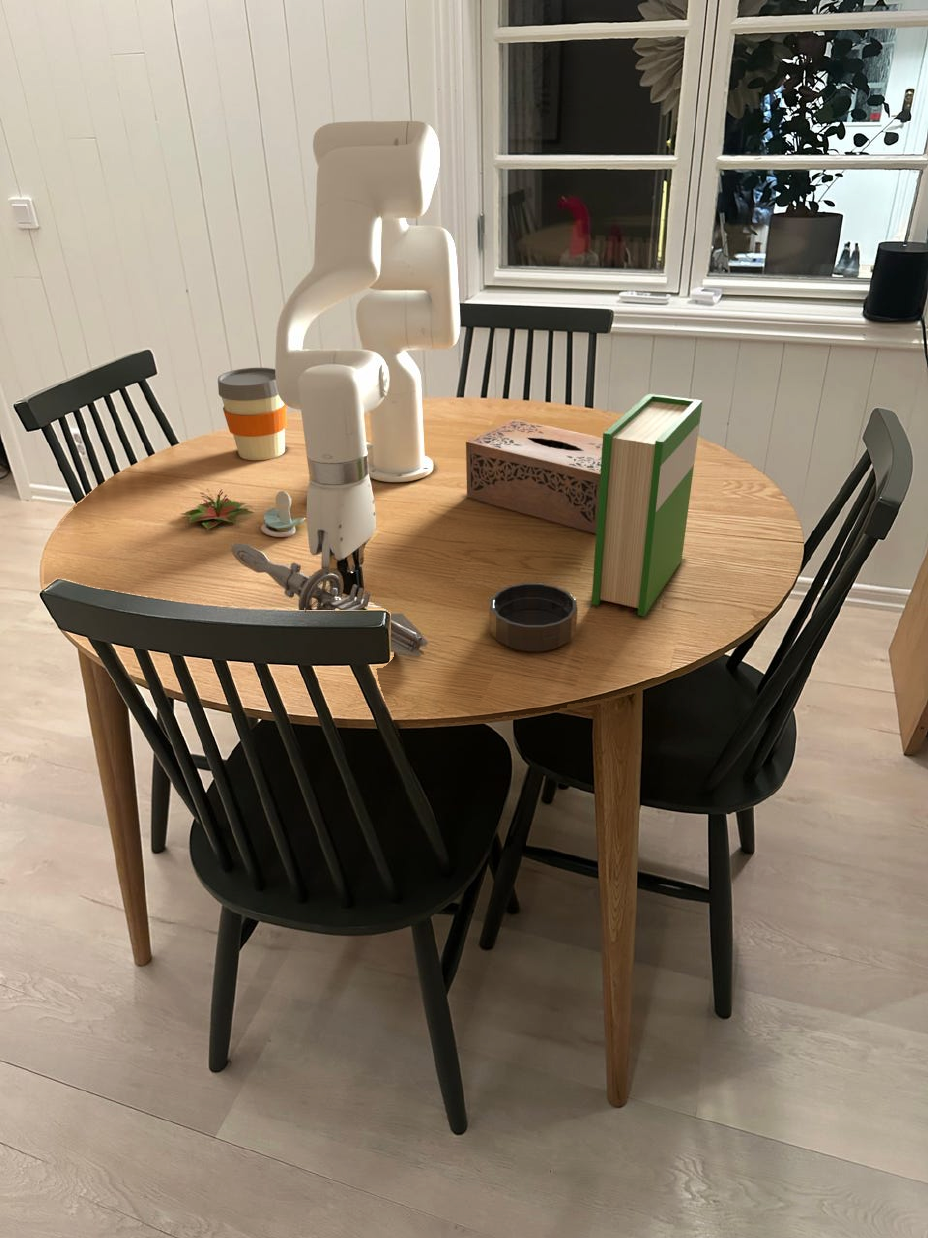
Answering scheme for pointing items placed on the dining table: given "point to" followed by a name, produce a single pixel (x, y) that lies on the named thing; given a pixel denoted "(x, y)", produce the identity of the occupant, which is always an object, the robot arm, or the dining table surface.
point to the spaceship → (328, 595)
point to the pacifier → (282, 523)
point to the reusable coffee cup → (254, 412)
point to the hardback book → (644, 499)
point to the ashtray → (533, 617)
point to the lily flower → (216, 511)
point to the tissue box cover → (537, 472)
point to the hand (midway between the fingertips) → (351, 592)
